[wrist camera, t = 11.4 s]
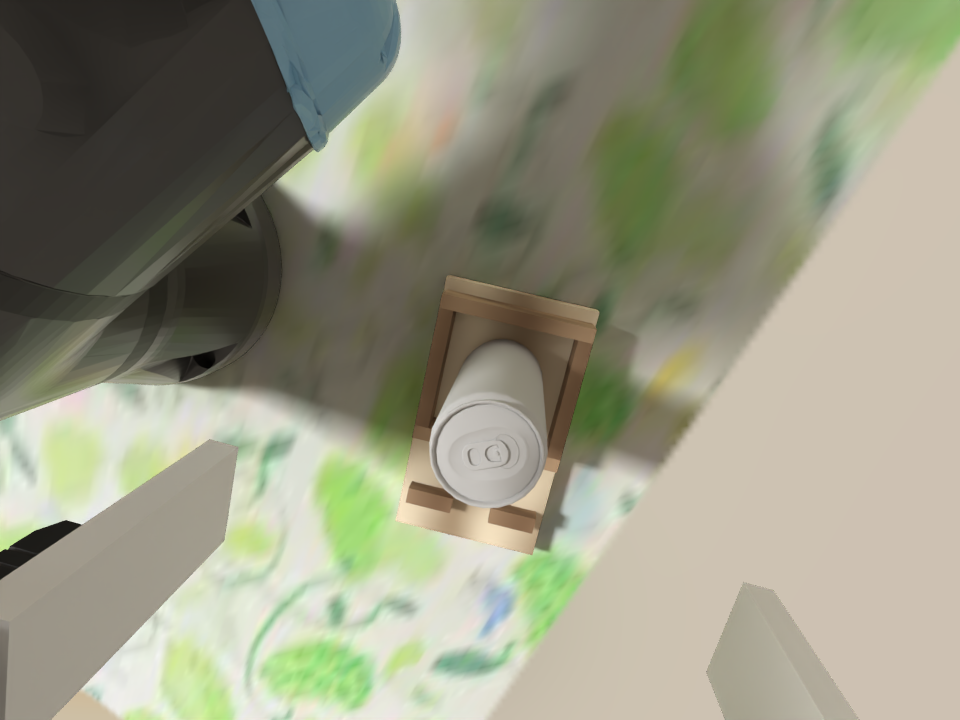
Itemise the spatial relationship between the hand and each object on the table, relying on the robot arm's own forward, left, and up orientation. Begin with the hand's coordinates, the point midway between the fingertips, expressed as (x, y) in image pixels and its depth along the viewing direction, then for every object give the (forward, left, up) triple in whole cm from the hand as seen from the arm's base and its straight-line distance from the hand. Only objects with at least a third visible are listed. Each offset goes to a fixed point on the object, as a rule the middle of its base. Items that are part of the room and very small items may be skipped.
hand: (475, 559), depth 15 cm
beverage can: (0, -1, -20) cm, 20 cm away
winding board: (0, -4, -21) cm, 22 cm away
